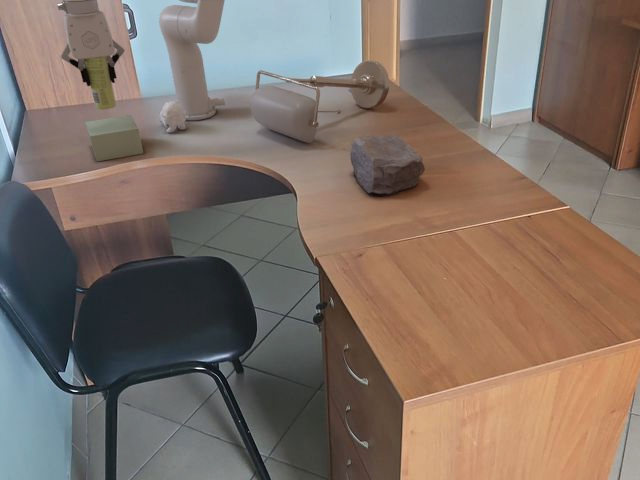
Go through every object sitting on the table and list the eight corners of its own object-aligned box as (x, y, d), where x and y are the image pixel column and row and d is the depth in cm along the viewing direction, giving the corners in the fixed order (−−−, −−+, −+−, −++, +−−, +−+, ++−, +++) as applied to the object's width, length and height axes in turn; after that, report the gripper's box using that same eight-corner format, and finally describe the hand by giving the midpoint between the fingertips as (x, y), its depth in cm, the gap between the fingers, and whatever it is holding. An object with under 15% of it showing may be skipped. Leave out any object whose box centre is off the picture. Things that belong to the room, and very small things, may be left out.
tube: (114, 102, 158) (95, 25, 147) (121, 107, 155) (102, 28, 144) (93, 106, 155) (72, 28, 144) (99, 111, 152) (79, 32, 141)
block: (136, 138, 168) (131, 114, 164) (143, 153, 159) (138, 128, 155) (92, 146, 164) (85, 121, 160) (96, 161, 155) (89, 136, 151)
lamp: (335, 123, 200) (237, 125, 171) (345, 54, 191) (244, 42, 162) (395, 143, 185) (299, 149, 156) (409, 68, 176) (310, 59, 147)
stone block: (436, 155, 135) (379, 151, 129) (425, 202, 140) (369, 201, 134) (403, 134, 148) (349, 130, 142) (393, 177, 153) (341, 175, 147)
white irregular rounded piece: (163, 105, 165) (149, 99, 174) (170, 135, 169) (156, 127, 178) (184, 101, 168) (169, 95, 177) (190, 130, 172) (176, 123, 181)
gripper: (43, 13, 136) (66, 92, 146) (121, 6, 142) (137, 82, 152) (42, 8, 141) (63, 84, 151) (116, 1, 147) (132, 75, 157)
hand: (100, 82), depth 151 cm, fingers closed on tube, 5 cm apart
